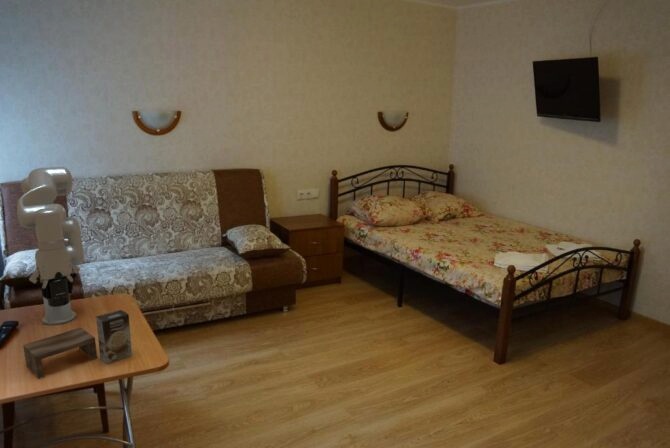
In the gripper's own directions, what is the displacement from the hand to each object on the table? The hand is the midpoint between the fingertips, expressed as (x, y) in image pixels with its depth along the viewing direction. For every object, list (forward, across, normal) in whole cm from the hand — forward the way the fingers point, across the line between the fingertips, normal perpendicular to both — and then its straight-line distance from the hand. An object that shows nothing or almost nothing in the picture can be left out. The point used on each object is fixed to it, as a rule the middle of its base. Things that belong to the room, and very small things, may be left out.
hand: (58, 294), depth 174 cm
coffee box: (+24, -12, +12) cm, 30 cm away
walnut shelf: (+24, +2, +1) cm, 24 cm away
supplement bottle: (+3, 0, 0) cm, 3 cm away
